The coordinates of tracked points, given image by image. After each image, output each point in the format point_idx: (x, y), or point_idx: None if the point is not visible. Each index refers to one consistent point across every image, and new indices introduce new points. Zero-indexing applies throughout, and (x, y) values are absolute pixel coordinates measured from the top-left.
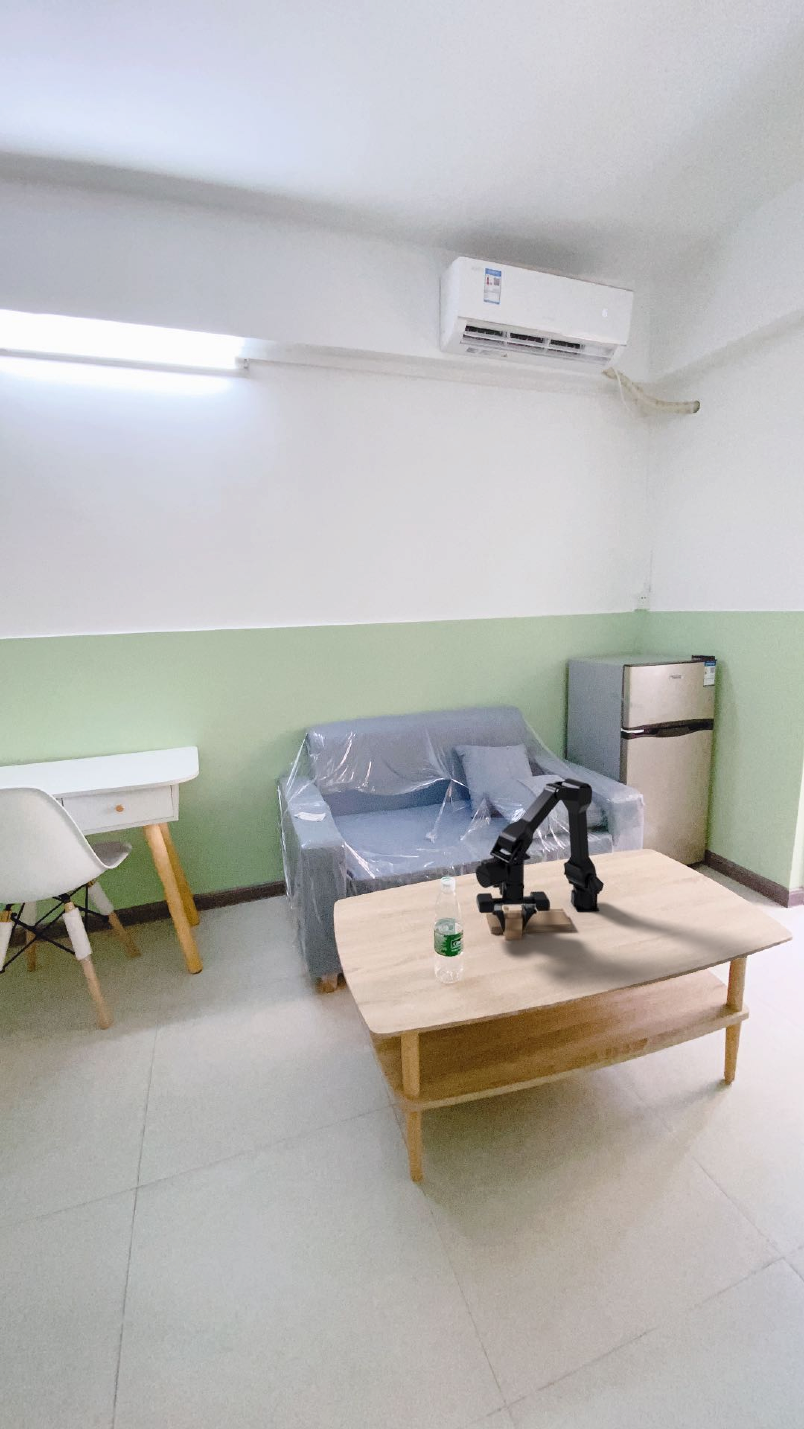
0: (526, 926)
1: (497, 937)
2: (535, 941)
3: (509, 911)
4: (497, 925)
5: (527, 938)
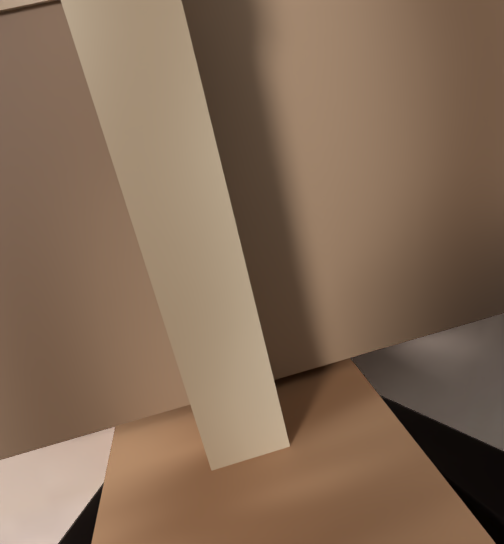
0: (444, 320)
1: (68, 445)
2: (465, 412)
3: (198, 82)
4: (17, 425)
5: (396, 383)
